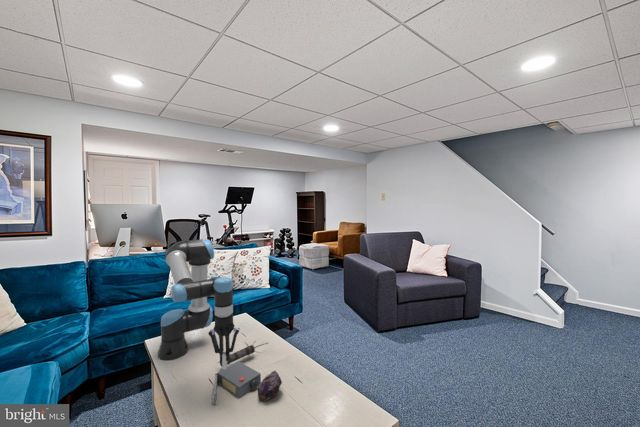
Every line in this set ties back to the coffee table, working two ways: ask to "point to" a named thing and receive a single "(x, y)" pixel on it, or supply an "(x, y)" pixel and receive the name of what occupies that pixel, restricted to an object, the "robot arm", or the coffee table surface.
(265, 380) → the rock
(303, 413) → the coffee table surface
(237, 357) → the bomb
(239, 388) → the camera body
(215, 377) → the side door
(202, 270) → the robot arm
